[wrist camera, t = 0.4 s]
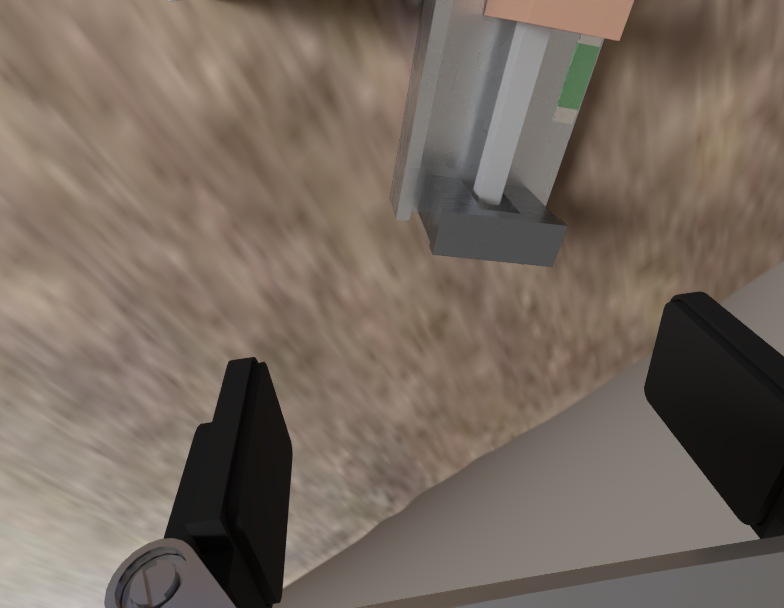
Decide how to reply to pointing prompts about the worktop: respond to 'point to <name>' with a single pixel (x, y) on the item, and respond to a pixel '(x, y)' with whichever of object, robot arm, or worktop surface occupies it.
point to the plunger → (533, 71)
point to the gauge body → (485, 135)
